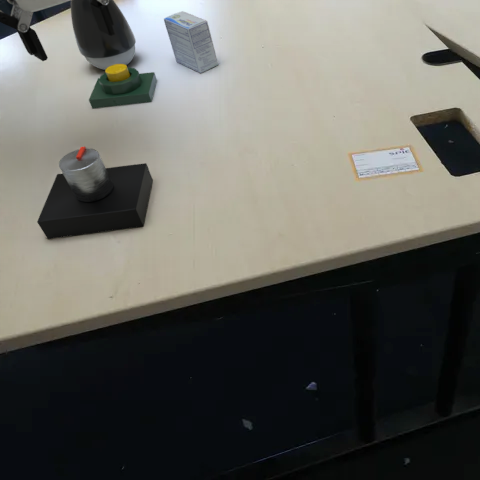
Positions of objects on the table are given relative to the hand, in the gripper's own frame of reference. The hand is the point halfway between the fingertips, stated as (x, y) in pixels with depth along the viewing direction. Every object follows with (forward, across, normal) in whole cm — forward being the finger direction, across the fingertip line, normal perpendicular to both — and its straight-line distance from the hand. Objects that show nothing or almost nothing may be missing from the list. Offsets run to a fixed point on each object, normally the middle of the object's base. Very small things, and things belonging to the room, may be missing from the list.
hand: (75, 44), depth 73 cm
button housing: (+16, -9, -12) cm, 22 cm away
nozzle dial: (+13, +10, +14) cm, 21 cm away
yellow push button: (+12, -9, -13) cm, 20 cm away
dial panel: (+16, +10, +14) cm, 23 cm away
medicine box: (+16, -24, -12) cm, 31 cm away
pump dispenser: (+16, -14, -25) cm, 33 cm away
